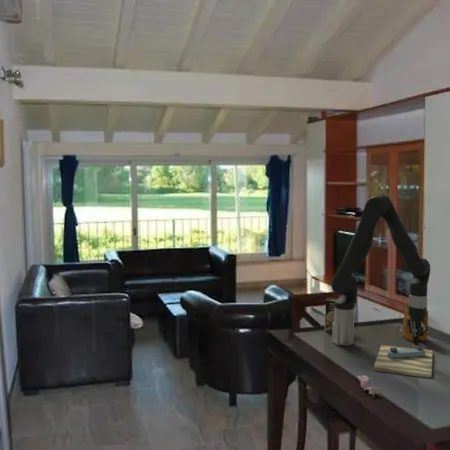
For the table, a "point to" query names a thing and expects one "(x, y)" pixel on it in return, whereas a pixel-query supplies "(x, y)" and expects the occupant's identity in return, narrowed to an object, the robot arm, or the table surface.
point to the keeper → (418, 346)
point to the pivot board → (404, 363)
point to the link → (406, 353)
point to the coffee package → (406, 329)
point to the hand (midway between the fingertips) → (415, 344)
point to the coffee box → (329, 313)
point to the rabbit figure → (368, 385)
